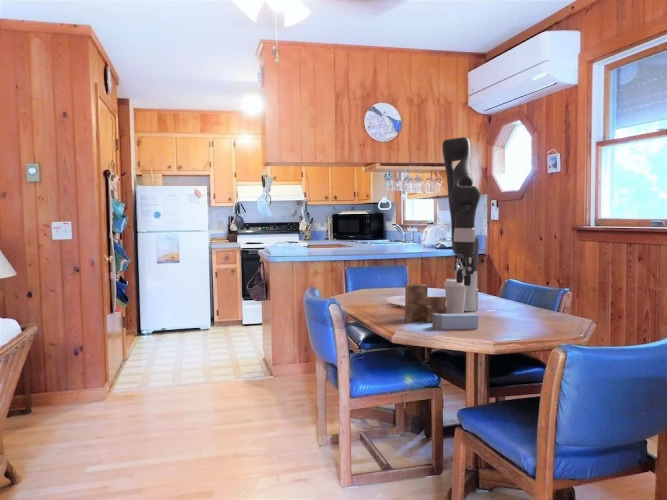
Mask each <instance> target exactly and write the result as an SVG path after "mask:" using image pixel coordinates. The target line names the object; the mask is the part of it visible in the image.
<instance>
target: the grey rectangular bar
mask: <svg viewBox="0 0 667 500" xmlns="http://www.w3.org/2000/svg"><path fill="white" fill-rule="evenodd" d="M431 325H432V328H433V329H434V330H475V329H476V330H478V329H479V315H478V314H476V313H468V312H467V313H463V314H447V313H446V314H439V313H433V314H432V323H431Z"/></svg>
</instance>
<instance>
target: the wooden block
mask: <svg viewBox="0 0 667 500" xmlns="http://www.w3.org/2000/svg"><path fill="white" fill-rule="evenodd" d="M404 287H405V288H404V289H405V290H404V292H405V293H404V295H405V296H404V298H405V299H404V304H405V305H404V322H405V323H406V324H412V323H413V322H417V321H418V322H420V321H421V322H423V321H424V322H425V323H427V324H430V323H431V324H432V314H433V313H439V314H447V307H446V296H428V288H429V287H428V285H427V284H426V283H424V284H423V283H422V284H419V283H418V284H417V283H414V284H413V283H412V284H411V283H410V284H407V283H406V284H405V285H404Z"/></svg>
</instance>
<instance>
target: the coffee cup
mask: <svg viewBox="0 0 667 500" xmlns="http://www.w3.org/2000/svg"><path fill="white" fill-rule="evenodd" d="M443 286H444V288H445V289H444V290H445V291H444V292H445V297H446V314H465V313H464V312H465V311H464V304H465V294H466V286H465V285H464V280H463V282H462V283H457V282H456V279H455V278H447V279H445V281H444V283H443Z"/></svg>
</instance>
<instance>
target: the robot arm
mask: <svg viewBox="0 0 667 500" xmlns="http://www.w3.org/2000/svg"><path fill="white" fill-rule="evenodd" d="M442 155H443V156H442V157H443V161H444V167H445V168H444V169H445V174H446V180H447V181H446V182H447V183H446V184H447V197H448V207H449V214H450V222H451V223H450V224H451V247H452V248H451V249H452V251H453V254H454V263H453V267H454V268H453V269H454V271H455V272H454V273H455V274H454V275H455V277H454V279H456V282H457V283H462V282H463V280H464V285H465V286H466V294H465V304H464V312H477V311H479V288H478V264H479V251H480V250H479V249H480V248H479V247H480V240H479V239H480V238H479V237H478V236H477V235H476V231H475V221H476V212H477V208H478V204H479V202H480V198H481V191H480V188H479V187H478V186H476V185H473V184H474V180H473V176H472V148H471V142H470V139H469V138H468V137H464V136H462V137H455V138H449V139H444V140H443V142H442ZM453 162H458V163H457V164H456V165H455V167H454V165H453Z"/></svg>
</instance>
